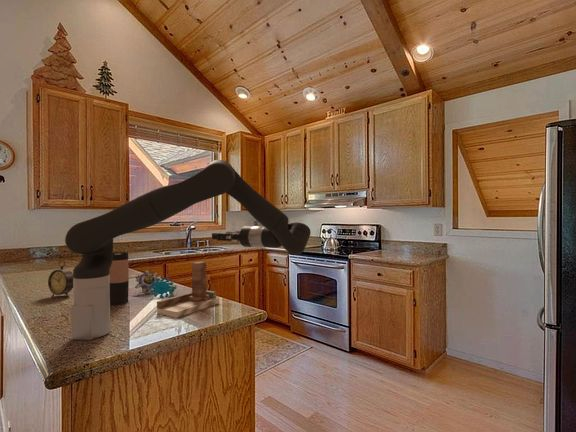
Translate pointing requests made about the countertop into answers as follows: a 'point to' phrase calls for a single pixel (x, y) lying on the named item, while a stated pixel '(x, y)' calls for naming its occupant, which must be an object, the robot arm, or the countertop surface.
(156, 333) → the countertop surface
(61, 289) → the alarm clock
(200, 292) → the panel
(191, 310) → the board
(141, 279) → the passion flower
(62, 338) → the countertop surface
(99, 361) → the countertop surface
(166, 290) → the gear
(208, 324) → the countertop surface
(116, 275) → the travel mug
